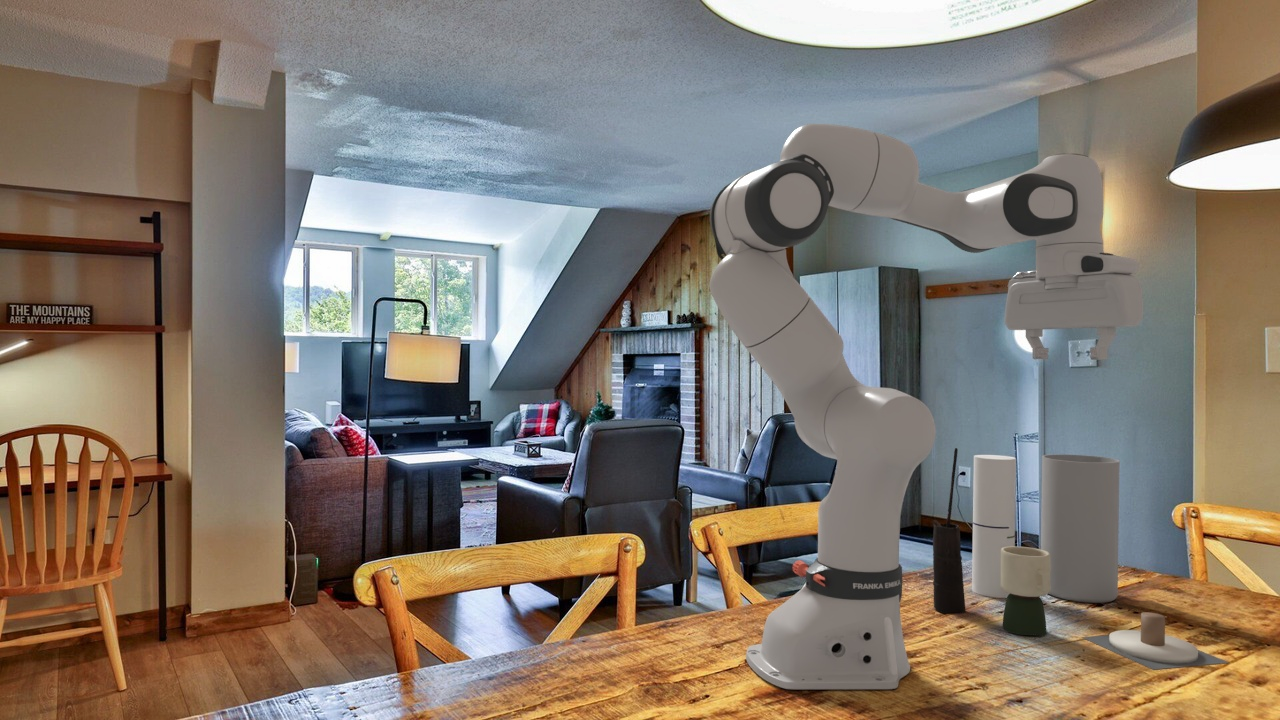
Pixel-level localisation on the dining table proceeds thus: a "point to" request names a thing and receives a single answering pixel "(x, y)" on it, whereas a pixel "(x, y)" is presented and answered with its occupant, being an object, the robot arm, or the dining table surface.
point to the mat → (1202, 660)
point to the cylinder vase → (1081, 526)
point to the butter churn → (948, 562)
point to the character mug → (1025, 589)
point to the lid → (1153, 642)
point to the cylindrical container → (992, 520)
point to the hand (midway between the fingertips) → (1068, 359)
